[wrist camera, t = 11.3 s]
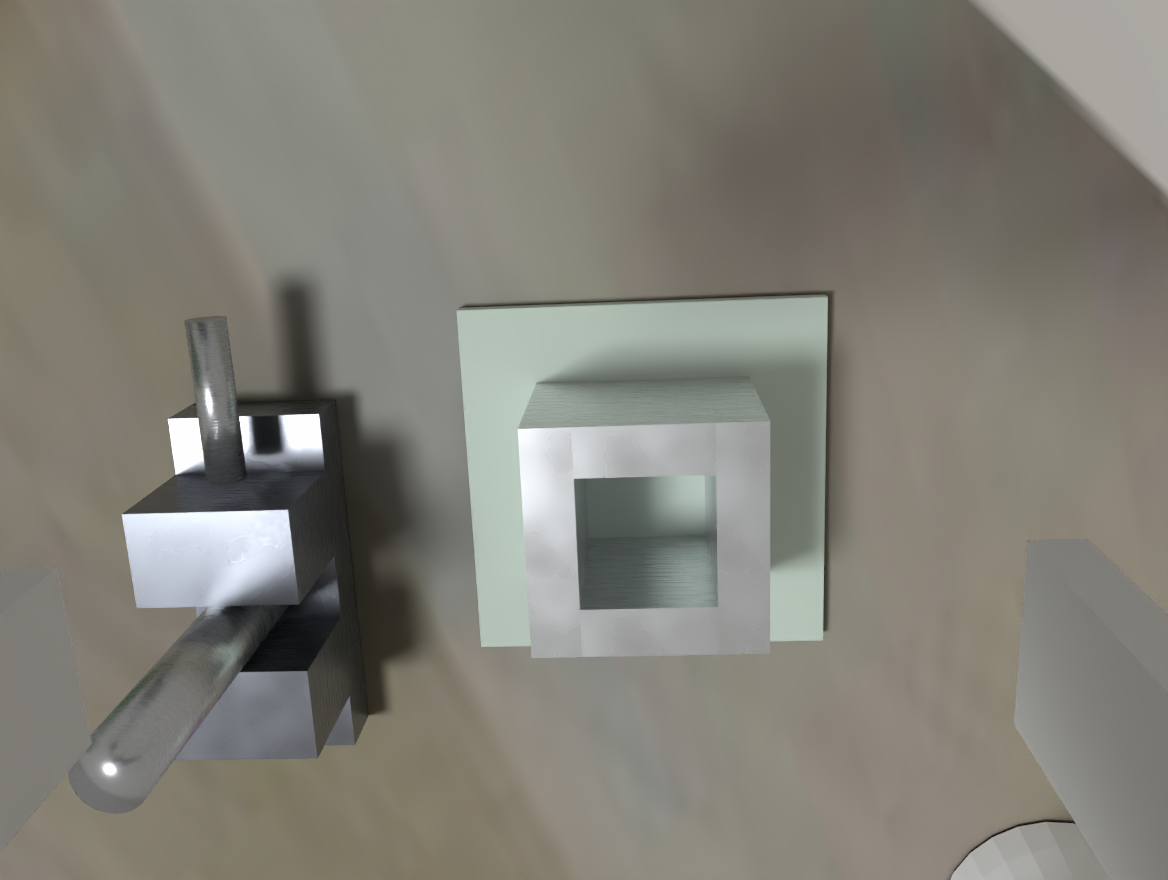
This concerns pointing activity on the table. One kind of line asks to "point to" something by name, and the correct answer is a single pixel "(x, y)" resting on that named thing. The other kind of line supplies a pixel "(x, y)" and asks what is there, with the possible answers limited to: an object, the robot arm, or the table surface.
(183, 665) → the vise
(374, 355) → the table surface
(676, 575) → the grey hollow block
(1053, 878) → the cup
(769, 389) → the mat
